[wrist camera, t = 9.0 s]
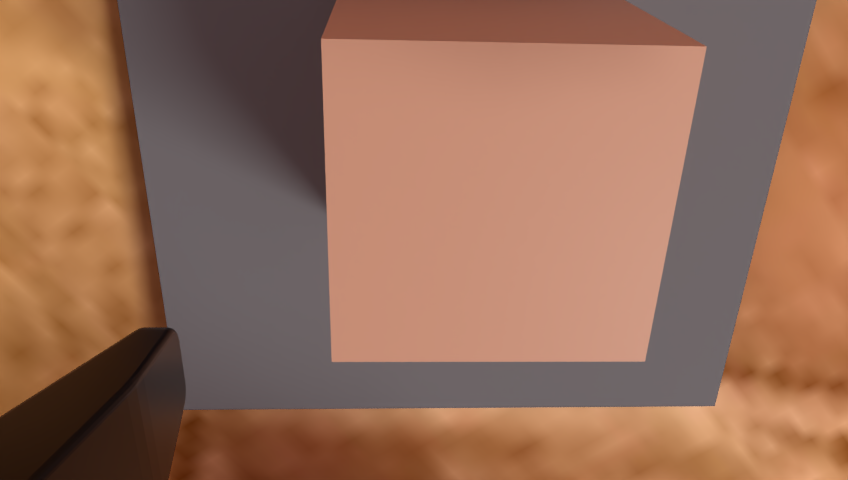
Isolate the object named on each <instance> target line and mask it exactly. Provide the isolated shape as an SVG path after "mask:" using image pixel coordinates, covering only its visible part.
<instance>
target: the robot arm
mask: <svg viewBox="0 0 848 480" xmlns="http://www.w3.org/2000/svg"><path fill="white" fill-rule="evenodd" d="M185 398H186V383H185V376H184V369H183V362H182V355H181V349H180V342H179V337H178V334H177V332H176V331H175V330H174V329H173V328H139V329H138V330H136V331H134V332H133V333H131V334H129V335H128V336H126V337H125V338H123V339H122V340H120V341H118V342H117V343H115V344H114V345H112V346H111V347H109V348H107V349H106V350H104V351H103V352H101V353H100V354H98V355H96V356H95V357H93V358H92V359H90V360H89V361H87V362H85V363H84V364H82V365H81V366H79V367H78V368H76V369H74V370H73V371H71V372H70V373H68V374H67V375H65V376H63V377H62V378H60V379H59V380H57V381H56V382H54V383H52V384H51V385H49V386H48V387H46V388H45V389H43V390H41V391H40V392H38V393H37V394H35V395H34V396H32V397H31V398H29V399H27V400H26V401H24V402H23V403H21V404H20V405H18V406H16V407H15V408H13V409H12V410H10V411H9V412H7V413H5V414H4V415H2V416H1V417H0V480H168V478H169V474H170V469H171V465H172V460H173V455H174V451H175V446H176V442H177V437H178V432H179V428H180V423H181V419H182V414H183V410H184V405H185Z"/></svg>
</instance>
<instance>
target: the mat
mask: <svg viewBox="0 0 848 480" xmlns="http://www.w3.org/2000/svg"><path fill="white" fill-rule="evenodd" d="M625 1H627V2H629V3H631V4H632V5H634V6H636V7H638V8H640V9H641V10H643V11H645V12H647V13H648V14H650V15H652V16H654V17H655V18H657V19H659V20H661V21H663V22H664V23H666V24H668V25H670V26H671V27H673V28H675V29H677V30H678V31H680V32H682V33H684V34H686V35H687V36H689V37H691V38H693V39H694V40H696V41H698V42H700V43H702V44H703V45H705V46H707V48H706V53H705V58H704V63H703V68H702V74H701V79H700V84H699V89H698V94H697V99H696V104H695V109H694V114H693V119H692V125H691V130H690V135H689V140H688V145H687V150H686V155H685V160H684V165H683V171H682V176H681V181H680V186H679V191H678V196H677V201H676V206H675V211H674V216H673V222H672V227H671V232H670V237H669V242H668V247H667V252H666V257H665V262H664V267H663V273H662V278H661V283H660V288H659V293H658V298H657V303H656V308H655V313H654V318H653V324H652V329H651V334H650V339H649V344H648V349H647V354H646V359H645V362H332V357H331V326H330V296H329V265H328V235H327V204H326V174H325V144H324V113H323V83H322V52H321V38H322V35H323V33H324V30H325V28H326V25H327V23H328V20H329V17H330V15H331V12H332V10H333V7H334V5H335V2H336V0H117V2H118V8H119V15H120V21H121V28H122V35H123V41H124V48H125V54H126V61H127V67H128V74H129V80H130V87H131V93H132V100H133V106H134V113H135V120H136V126H137V133H138V139H139V146H140V152H141V159H142V165H143V172H144V178H145V185H146V191H147V198H148V205H149V211H150V218H151V224H152V231H153V237H154V244H155V250H156V257H157V263H158V270H159V276H160V283H161V290H162V296H163V303H164V309H165V316H166V322H167V328H173V329H174V330H175V331H176V332H177V334H178V337H179V342H180V349H181V355H182V362H183V369H184V376H185V383H186V398H185V405H184V410H216V409H360V408H503V407H646V406H715V402H716V398H717V394H718V391H719V387H720V383H721V379H722V375H723V371H724V367H725V363H726V359H727V355H728V351H729V347H730V343H731V339H732V335H733V331H734V327H735V323H736V319H737V315H738V311H739V307H740V303H741V299H742V295H743V291H744V287H745V283H746V279H747V275H748V271H749V267H750V263H751V259H752V255H753V251H754V247H755V243H756V239H757V235H758V231H759V227H760V223H761V219H762V215H763V211H764V207H765V203H766V199H767V195H768V191H769V187H770V183H771V179H772V175H773V171H774V167H775V164H776V160H777V156H778V152H779V148H780V144H781V140H782V136H783V132H784V128H785V124H786V120H787V116H788V112H789V108H790V104H791V100H792V96H793V92H794V88H795V84H796V80H797V76H798V72H799V68H800V64H801V60H802V56H803V52H804V48H805V44H806V40H807V36H808V32H809V28H810V24H811V20H812V16H813V12H814V8H815V4H816V0H625Z"/></svg>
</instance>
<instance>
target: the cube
mask: <svg viewBox="0 0 848 480" xmlns="http://www.w3.org/2000/svg"><path fill="white" fill-rule="evenodd" d="M706 48H707V46H705V45H703V44H702V43H700V42H698V41H696V40H694V39H693V38H691V37H689V36H687V35H686V34H684V33H682V32H680V31H678V30H677V29H675V28H673V27H671V26H670V25H668V24H666V23H664V22H663V21H661V20H659V19H657V18H655V17H654V16H652V15H650V14H648V13H647V12H645V11H643V10H641V9H640V8H638V7H636V6H634V5H632V4H631V3H629V2H627V1H625V0H336V2H335V5H334V7H333V10H332V12H331V15H330V17H329V20H328V23H327V25H326V28H325V30H324V33H323V35H322V38H321V52H322V83H323V113H324V144H325V174H326V204H327V235H328V265H329V296H330V326H331V357H332V362H645V359H646V354H647V349H648V344H649V339H650V334H651V329H652V324H653V318H654V313H655V308H656V303H657V298H658V293H659V288H660V283H661V278H662V273H663V267H664V262H665V257H666V252H667V247H668V242H669V237H670V232H671V227H672V222H673V216H674V211H675V206H676V201H677V196H678V191H679V186H680V181H681V176H682V171H683V165H684V160H685V155H686V150H687V145H688V140H689V135H690V130H691V125H692V119H693V114H694V109H695V104H696V99H697V94H698V89H699V84H700V79H701V74H702V68H703V63H704V58H705V53H706Z"/></svg>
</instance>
